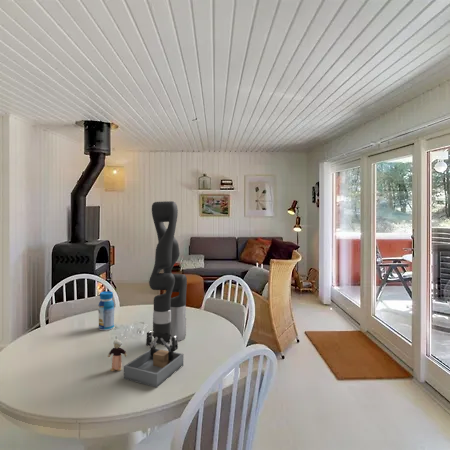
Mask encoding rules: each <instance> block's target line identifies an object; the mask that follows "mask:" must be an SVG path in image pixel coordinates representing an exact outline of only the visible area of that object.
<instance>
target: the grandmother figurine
mask: <svg viewBox="0 0 450 450" xmlns="http://www.w3.org/2000/svg"><path fill="white" fill-rule="evenodd" d="M121 346H122V341H121V340H120V339H118V338H117V339H114V340H113V348H111V350H110V351H109V352H108V355H107V357H108V358H111V356H112V359H111V361H112V362H111V368H110V370H109V371H111V372H114V371H117V372H121V371H122V362H123V361H122V358H123V357H122V354H123V356H124V357H125V358H127V357H128V354H127V352H126V350H125V349H124V348H121Z"/></svg>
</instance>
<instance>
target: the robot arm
mask: <svg viewBox="0 0 450 450" xmlns="http://www.w3.org/2000/svg"><path fill="white" fill-rule="evenodd" d="M178 211H179V210H178V205H177V203H176V202H175V201H171V200H170V201H167V200H166V201H164V200H163V201H155V202H153V203H152V204H151V216H152V220H153V224H154V227H155V231H156V234H157V241H158V243H157V244H156V248H155V254H154V255H155V256H154V266H153V268H152V272H151V274H150V277H149V280H148V283H149V284H148V286H149V288H150V289H151V290H153V291H165V293H162V294H157V295H155V296H154V297H153V311H152V330H149V331H147V332H146V341H145V342H146V343H145V345H146V346H147V347H149V348H150V349H149V350H150V354H151V356H152V357H153V354H154V353H156V345H162V346H164V347H165V348H166V350H167V351H169V352H168V360H172V358H173V352H175V351H176V350H178V349H179V346H178V345H179V344H178V343H179V341H183V340H185V339H186V336H187V317H186V316H187V315H186V313H187V312H186V311H187V308H186V307H187V305H186V304H187V288H188V287H187V286H188V285H187V283H188V280H187V279H188V278H187V276H186V275H185V274H184V273H173V272H172V270H173V268H174V266H175V264H176V262H177V261H178V260H179V257H180V255H181V254H180V246H179V242H178V240H177V239H176V237H175V233H176V229H177V227H176V226H177V222H178V214H179V213H178ZM165 223H168V224H167V227H166V226H165ZM162 270H163V271H162ZM161 271H162V272H161ZM173 293H178V295H176V296H173V297H172V294H173ZM153 338H154V339H153Z"/></svg>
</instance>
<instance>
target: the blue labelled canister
mask: <svg viewBox="0 0 450 450" xmlns="http://www.w3.org/2000/svg"><path fill="white" fill-rule="evenodd" d="M113 294H114V292H113V291H108V290H107V291H101V292H100V293H99V302H98V310H97V312H98V330H99V331H110V330H113V329H114V328H115V307H114V306H115V301H114V300H113V298H114V295H113ZM113 327H114V328H113ZM112 328H113V329H112Z"/></svg>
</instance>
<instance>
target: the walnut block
mask: <svg viewBox="0 0 450 450" xmlns="http://www.w3.org/2000/svg"><path fill="white" fill-rule="evenodd" d="M165 350H166V349H162V350H159V351H157V352H156V353H154V354H153V366H157V367H161V368H164V367H165V366H166V365H168V364H169V363H170V360H168V352H169V351H168V350H167V351H165Z"/></svg>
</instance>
